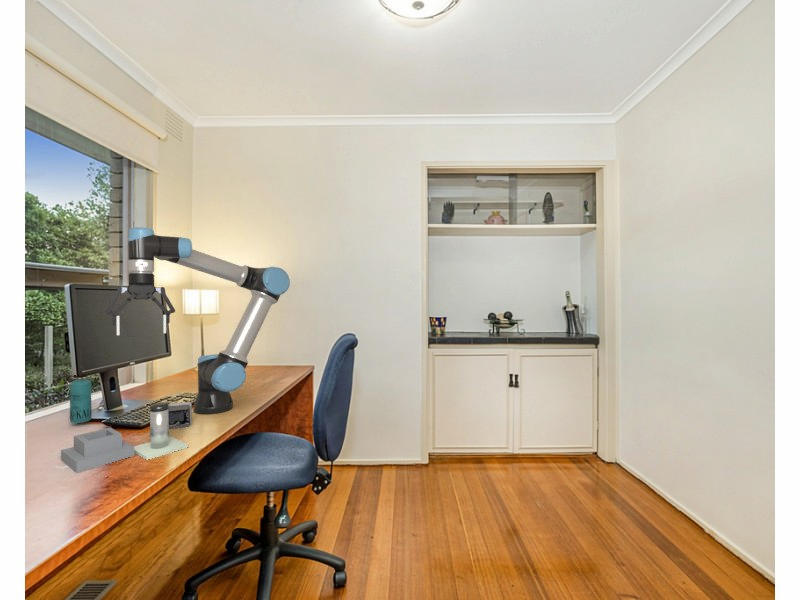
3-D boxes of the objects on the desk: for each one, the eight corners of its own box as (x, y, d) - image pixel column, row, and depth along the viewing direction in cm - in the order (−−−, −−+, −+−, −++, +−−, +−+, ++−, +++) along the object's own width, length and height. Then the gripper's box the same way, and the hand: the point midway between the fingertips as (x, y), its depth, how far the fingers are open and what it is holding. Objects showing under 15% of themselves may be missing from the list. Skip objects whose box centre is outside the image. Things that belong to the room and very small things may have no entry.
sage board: (170, 439, 135) (170, 436, 135) (188, 447, 128) (188, 444, 128) (130, 450, 126) (130, 447, 126) (146, 460, 118) (146, 457, 118)
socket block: (116, 445, 130) (116, 424, 129) (134, 456, 121) (134, 433, 121) (61, 460, 118) (60, 436, 118) (76, 473, 110) (76, 447, 110)
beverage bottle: (73, 422, 152) (73, 369, 151) (94, 420, 154) (94, 368, 154) (66, 428, 146) (65, 373, 145) (88, 426, 148) (87, 372, 147)
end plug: (164, 441, 130) (164, 401, 130) (171, 445, 127) (171, 404, 127) (147, 446, 126) (147, 405, 126) (154, 450, 123) (154, 408, 123)
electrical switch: (192, 424, 151) (191, 400, 150) (191, 429, 146) (190, 405, 145) (163, 427, 147) (162, 402, 146) (161, 433, 143) (160, 408, 142)
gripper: (95, 271, 130) (96, 337, 130) (183, 273, 144) (183, 333, 144) (97, 272, 136) (98, 334, 137) (181, 274, 150) (181, 331, 150)
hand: (142, 334), depth 140 cm, fingers open, 13 cm apart
